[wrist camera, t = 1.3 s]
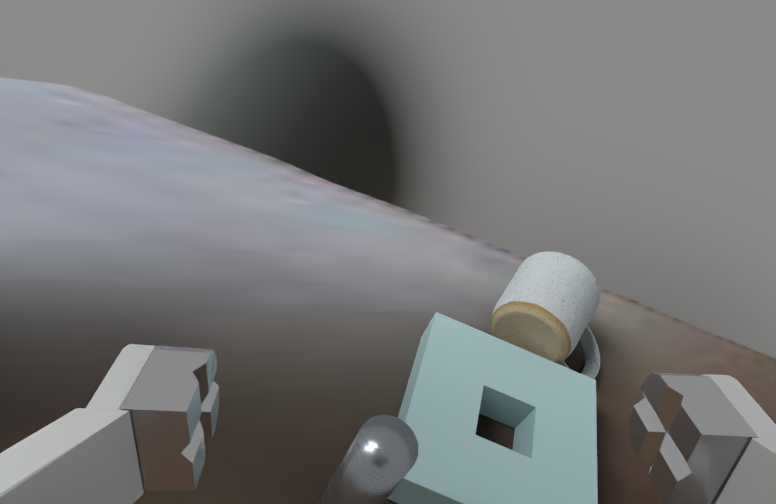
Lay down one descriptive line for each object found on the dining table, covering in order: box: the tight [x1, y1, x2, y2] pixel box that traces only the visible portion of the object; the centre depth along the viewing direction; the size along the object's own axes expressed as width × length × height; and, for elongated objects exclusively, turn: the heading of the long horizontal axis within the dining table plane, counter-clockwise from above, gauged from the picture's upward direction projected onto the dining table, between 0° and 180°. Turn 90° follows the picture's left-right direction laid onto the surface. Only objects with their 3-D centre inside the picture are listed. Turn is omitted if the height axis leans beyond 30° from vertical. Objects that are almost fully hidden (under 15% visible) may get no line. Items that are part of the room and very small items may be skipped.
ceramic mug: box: [490, 252, 600, 379], centre depth 47 cm, size 11×8×8 cm
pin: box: [318, 415, 418, 504], centre depth 30 cm, size 3×3×12 cm
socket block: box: [387, 312, 598, 504], centre depth 40 cm, size 14×14×4 cm
